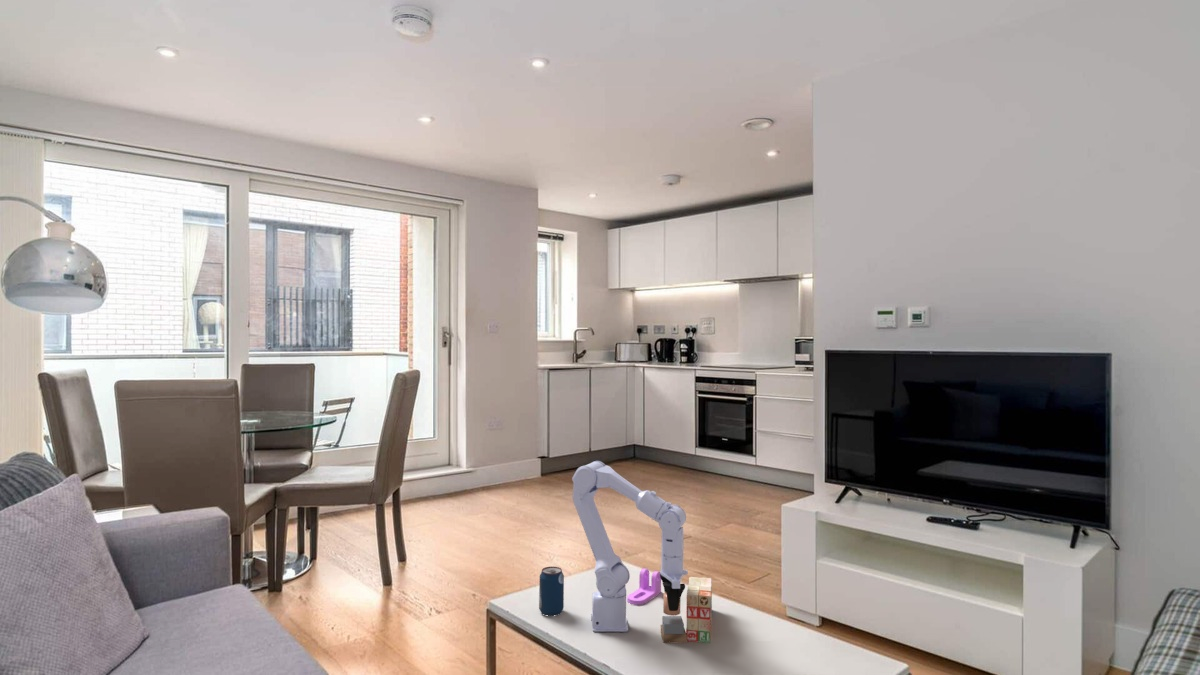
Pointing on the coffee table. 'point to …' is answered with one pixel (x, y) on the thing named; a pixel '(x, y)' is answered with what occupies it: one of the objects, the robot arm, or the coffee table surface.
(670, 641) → the tower base
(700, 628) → the stack of blocks
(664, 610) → the terracotta cylinder
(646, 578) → the bracket
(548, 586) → the soda can
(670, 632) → the tower top
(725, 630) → the coffee table surface
